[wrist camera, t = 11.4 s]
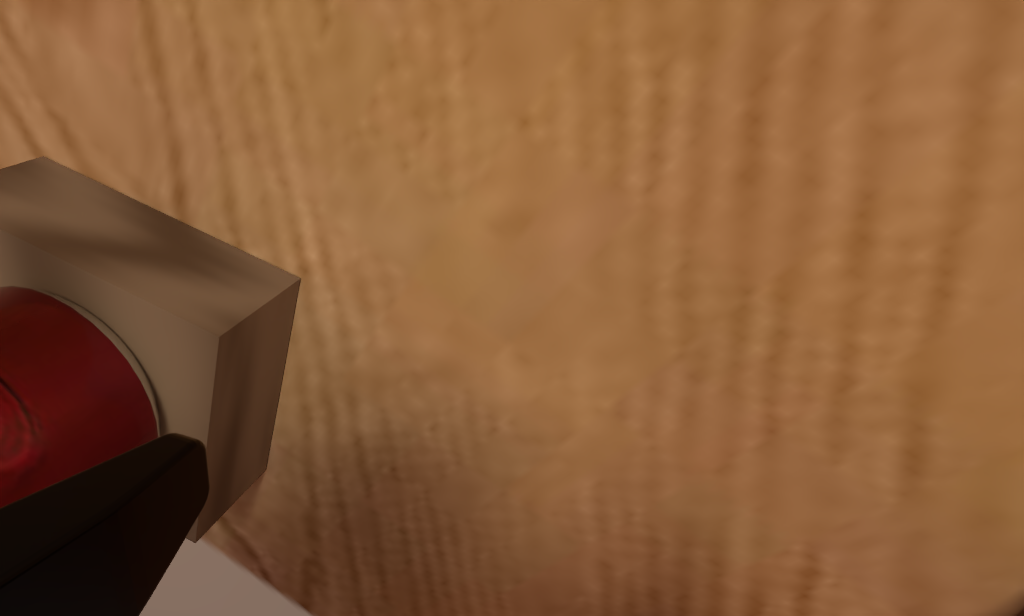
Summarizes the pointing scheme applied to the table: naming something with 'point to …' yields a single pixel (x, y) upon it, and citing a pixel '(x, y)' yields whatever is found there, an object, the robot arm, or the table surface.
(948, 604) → the table surface
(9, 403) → the soda can
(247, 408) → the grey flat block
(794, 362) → the table surface
